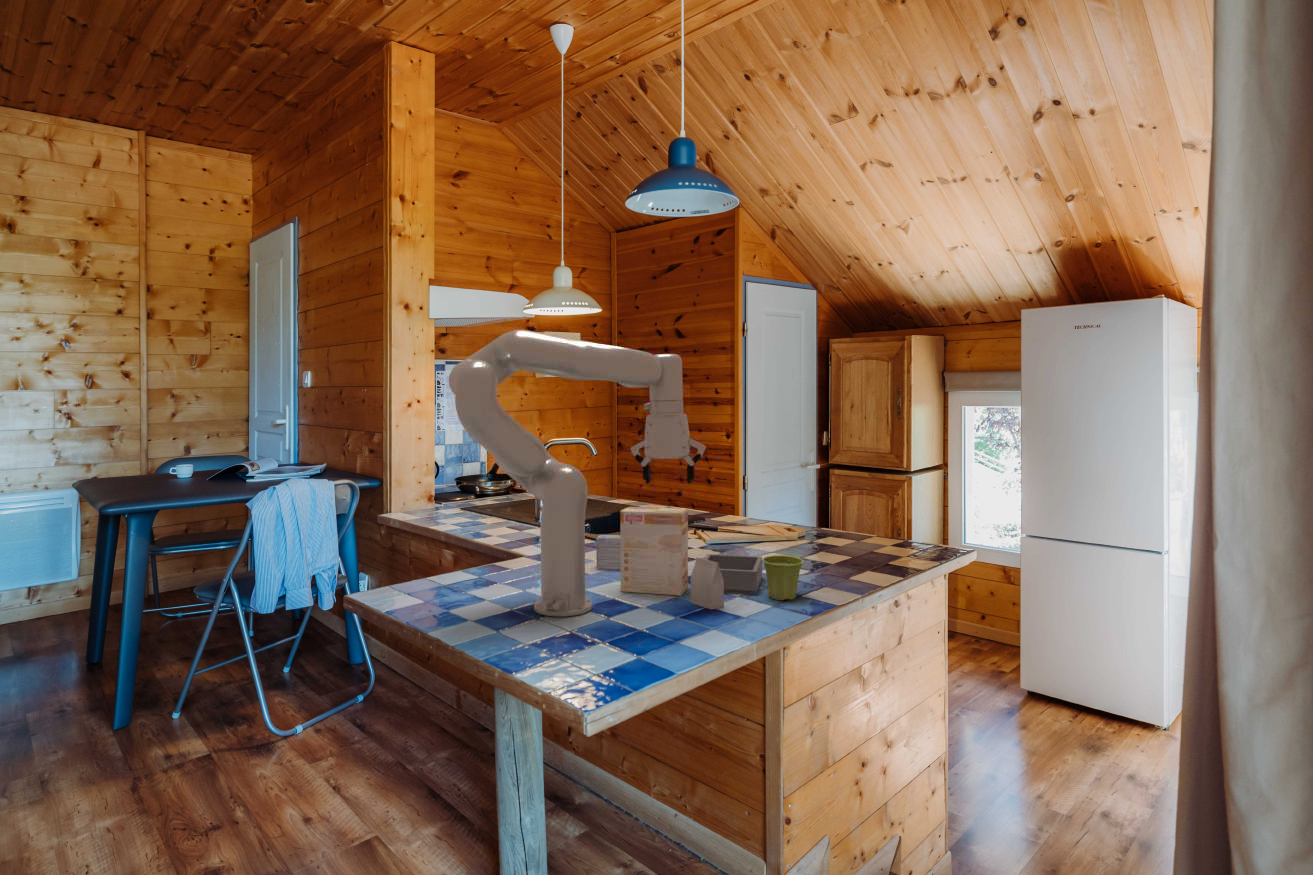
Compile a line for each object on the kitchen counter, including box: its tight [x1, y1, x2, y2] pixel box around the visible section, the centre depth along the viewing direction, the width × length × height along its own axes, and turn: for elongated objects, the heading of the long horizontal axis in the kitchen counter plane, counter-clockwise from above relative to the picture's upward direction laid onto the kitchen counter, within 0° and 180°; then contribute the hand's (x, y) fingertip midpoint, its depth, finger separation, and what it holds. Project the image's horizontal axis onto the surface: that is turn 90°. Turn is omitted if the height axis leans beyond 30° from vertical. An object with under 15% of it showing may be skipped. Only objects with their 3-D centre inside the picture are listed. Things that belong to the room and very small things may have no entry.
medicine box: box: [595, 534, 621, 571], centre depth 199 cm, size 8×4×9 cm, turn 84°
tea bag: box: [690, 557, 725, 610], centre depth 165 cm, size 4×7×10 cm, turn 40°
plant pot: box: [762, 554, 805, 601], centre depth 171 cm, size 9×9×9 cm
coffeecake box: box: [619, 506, 689, 597], centre depth 177 cm, size 15×7×20 cm, turn 74°
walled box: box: [703, 553, 763, 596], centre depth 182 cm, size 16×14×6 cm
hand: (668, 482), depth 171 cm, fingers open, 9 cm apart
